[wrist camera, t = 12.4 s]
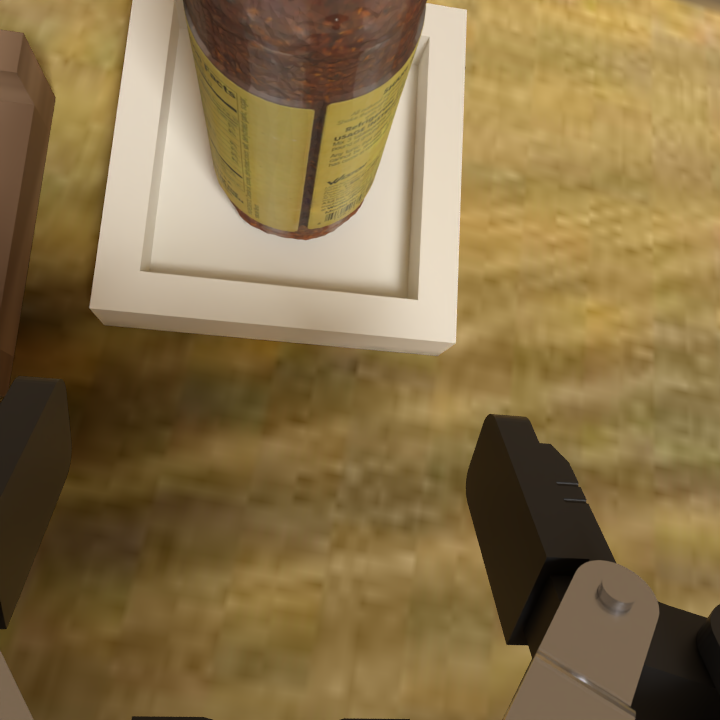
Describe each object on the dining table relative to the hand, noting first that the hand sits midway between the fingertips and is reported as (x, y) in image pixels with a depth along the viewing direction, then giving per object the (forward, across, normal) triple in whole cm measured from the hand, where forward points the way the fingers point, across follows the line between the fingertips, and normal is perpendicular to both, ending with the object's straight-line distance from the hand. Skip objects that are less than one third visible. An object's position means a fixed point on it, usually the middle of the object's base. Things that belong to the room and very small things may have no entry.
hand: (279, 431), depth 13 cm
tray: (+17, 0, +1) cm, 17 cm away
